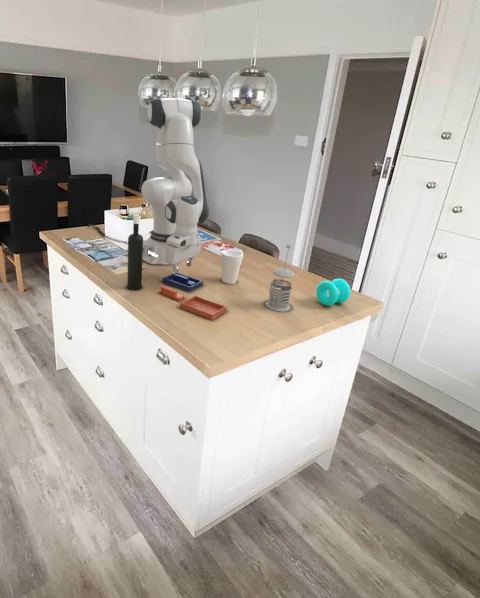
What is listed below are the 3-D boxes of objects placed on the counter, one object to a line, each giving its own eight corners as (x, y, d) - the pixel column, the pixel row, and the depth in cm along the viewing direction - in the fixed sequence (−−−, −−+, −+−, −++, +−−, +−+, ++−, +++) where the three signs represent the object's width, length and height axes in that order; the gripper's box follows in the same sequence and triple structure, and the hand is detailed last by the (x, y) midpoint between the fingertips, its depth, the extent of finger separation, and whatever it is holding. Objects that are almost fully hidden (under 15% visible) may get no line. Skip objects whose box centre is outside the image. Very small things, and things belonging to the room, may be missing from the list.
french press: (295, 306, 163) (307, 245, 153) (278, 314, 156) (290, 251, 145) (274, 298, 169) (285, 239, 159) (257, 305, 162) (267, 243, 151)
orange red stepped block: (159, 293, 166) (159, 287, 165) (164, 291, 168) (164, 285, 167) (179, 301, 161) (179, 295, 159) (183, 298, 163) (184, 292, 162)
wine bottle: (131, 291, 166) (133, 216, 153) (124, 286, 170) (126, 213, 158) (144, 288, 169) (146, 215, 157) (137, 283, 173) (139, 212, 161)
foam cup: (238, 286, 178) (242, 257, 173) (217, 283, 180) (220, 254, 174) (240, 278, 187) (244, 251, 181) (219, 275, 188) (222, 248, 183)
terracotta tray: (180, 307, 155) (180, 302, 155) (194, 299, 163) (195, 295, 162) (212, 320, 148) (212, 315, 147) (226, 311, 155) (226, 306, 154)
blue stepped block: (171, 280, 178) (172, 275, 177) (176, 278, 180) (176, 273, 179) (191, 287, 173) (191, 281, 172) (195, 285, 175) (195, 279, 174)
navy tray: (162, 282, 177) (162, 277, 176) (176, 276, 184) (176, 272, 183) (189, 291, 169) (189, 287, 169) (202, 285, 177) (203, 281, 176)
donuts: (348, 306, 167) (354, 283, 163) (331, 310, 163) (337, 286, 159) (329, 296, 175) (334, 274, 171) (312, 300, 170) (317, 277, 166)
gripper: (194, 230, 178) (190, 260, 184) (163, 240, 163) (161, 272, 169) (206, 234, 175) (202, 265, 181) (176, 244, 160) (173, 277, 166)
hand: (182, 268), depth 175 cm, fingers open, 8 cm apart
